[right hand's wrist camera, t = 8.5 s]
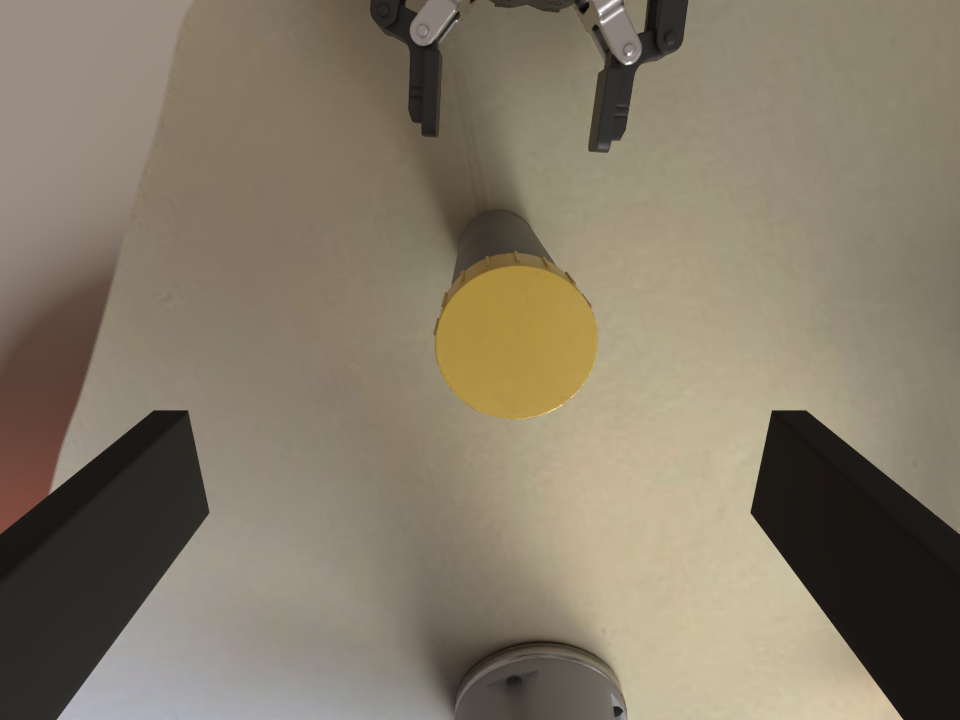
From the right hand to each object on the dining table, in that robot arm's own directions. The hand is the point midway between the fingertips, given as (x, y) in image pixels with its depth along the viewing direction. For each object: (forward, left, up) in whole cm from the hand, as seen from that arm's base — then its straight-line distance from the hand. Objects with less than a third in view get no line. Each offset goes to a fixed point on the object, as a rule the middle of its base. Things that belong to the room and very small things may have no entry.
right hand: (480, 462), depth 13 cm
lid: (-1, -1, -6) cm, 7 cm away
